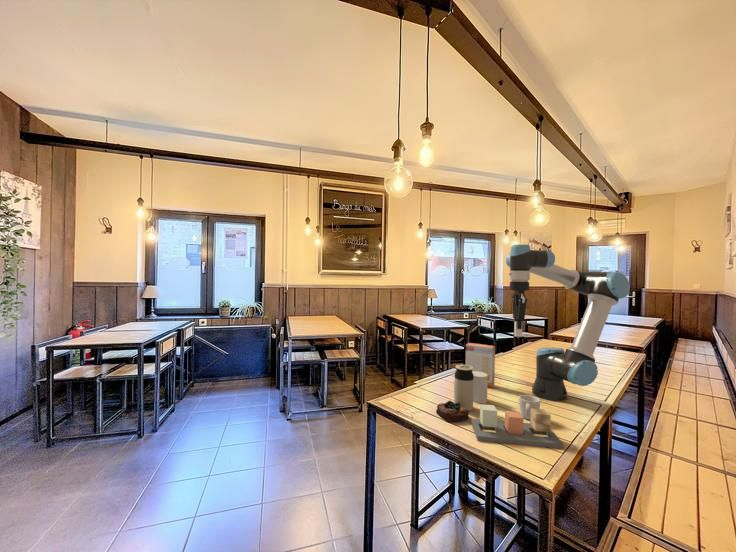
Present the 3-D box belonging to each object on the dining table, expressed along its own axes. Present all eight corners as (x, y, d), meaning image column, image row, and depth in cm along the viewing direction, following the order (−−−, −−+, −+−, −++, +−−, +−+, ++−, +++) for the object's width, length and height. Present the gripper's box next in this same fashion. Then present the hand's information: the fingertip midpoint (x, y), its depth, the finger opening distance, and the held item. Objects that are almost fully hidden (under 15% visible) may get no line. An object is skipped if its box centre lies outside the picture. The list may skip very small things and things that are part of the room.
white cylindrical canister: (488, 403, 147) (488, 377, 146) (469, 402, 148) (470, 376, 148) (485, 397, 154) (486, 372, 154) (467, 395, 156) (468, 370, 156)
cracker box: (494, 385, 172) (495, 345, 172) (491, 388, 167) (492, 347, 167) (468, 379, 180) (469, 342, 180) (464, 382, 175) (465, 343, 175)
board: (547, 428, 123) (547, 424, 123) (563, 448, 110) (563, 443, 110) (470, 422, 128) (471, 418, 128) (477, 440, 114) (477, 436, 114)
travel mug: (476, 407, 142) (476, 366, 142) (467, 413, 136) (468, 370, 136) (459, 402, 147) (460, 363, 147) (450, 407, 141) (451, 366, 141)
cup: (538, 426, 125) (539, 406, 125) (516, 421, 129) (516, 401, 129) (540, 416, 134) (541, 397, 134) (519, 411, 139) (520, 393, 139)
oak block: (544, 425, 119) (545, 409, 119) (550, 432, 114) (550, 415, 114) (530, 424, 120) (530, 408, 120) (535, 430, 115) (535, 413, 115)
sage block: (493, 421, 122) (494, 405, 122) (496, 427, 117) (497, 410, 117) (479, 420, 123) (480, 404, 123) (482, 426, 118) (482, 409, 118)
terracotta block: (518, 428, 121) (519, 412, 121) (523, 434, 116) (523, 418, 116) (504, 427, 121) (505, 411, 121) (508, 433, 117) (508, 416, 116)
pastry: (448, 424, 126) (449, 409, 126) (432, 412, 137) (433, 398, 137) (472, 421, 130) (472, 406, 129) (454, 409, 141) (455, 395, 141)
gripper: (506, 280, 145) (504, 333, 145) (514, 281, 132) (513, 338, 132) (523, 280, 144) (522, 333, 144) (534, 281, 131) (532, 339, 131)
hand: (518, 336), depth 138 cm, fingers closed
